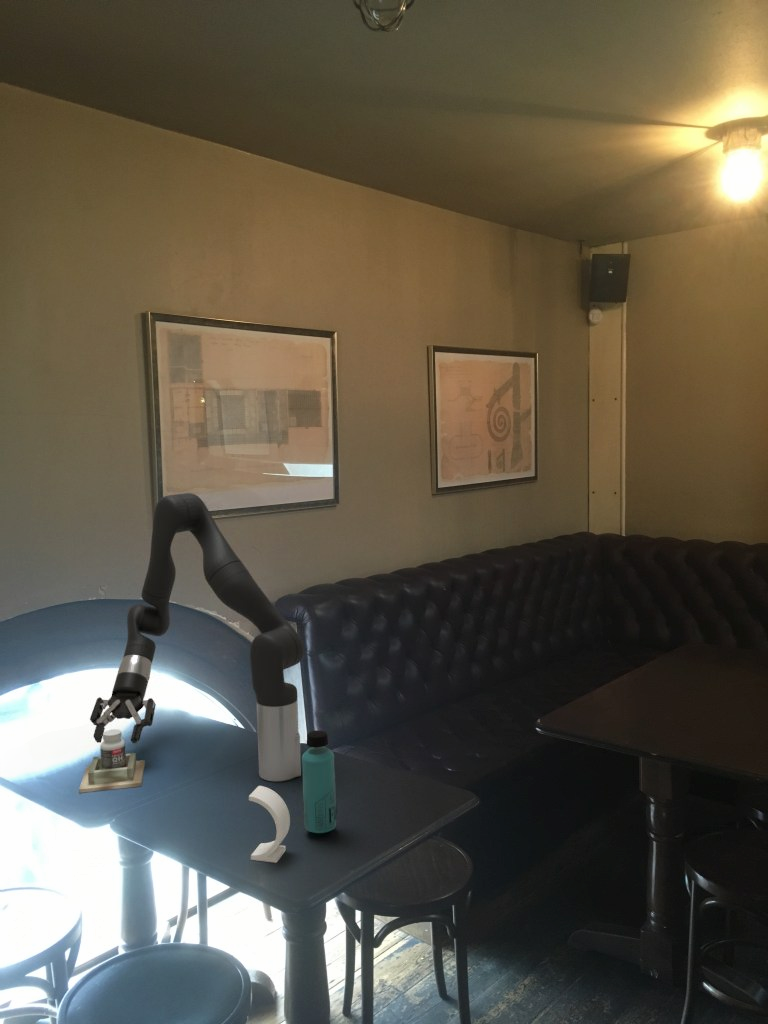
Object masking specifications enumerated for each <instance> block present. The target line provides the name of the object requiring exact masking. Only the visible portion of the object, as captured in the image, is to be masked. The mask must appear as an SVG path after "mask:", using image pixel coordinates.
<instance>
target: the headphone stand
mask: <svg viewBox="0 0 768 1024" xmlns="http://www.w3.org/2000/svg"><path fill="white" fill-rule="evenodd" d="M248 801H250V802H254V803H256V804H259V805H260V806H262V807H263V808H265V809H266V810H267V811H268V812H269V814H270V816H271V817H272V819H273V821H274V823H275V827H276V828H275V829H276V836H275V840H273V841H269V842H264V843H263V842H262V843H260V844H259V845H258V846H257V847H256V849H254V851H253V852H252V853H251V855H250V860H251V861H259V862H267V863H275V864H276V863H277V862H279V860H280V859H281V858H282V856H283V855H284V853H286V849H287V848H286V845H281V844H282V842H283V841H284V839H285V838H286V836H287V835H288V832H289V831H290V827H291V816H290V810H289V808H288V806H287V804H286V802H285V801H284V799H283V798H282V796H280V795H279V794H278V793H277V792H276V791H274V790H272V789H271V788H269V787H266V786H263V785H258V786H257V787H255V789H254V790H253V791H252V792H251V793H250V794H249V795H248Z"/></svg>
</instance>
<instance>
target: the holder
mask: <svg viewBox="0 0 768 1024" xmlns="http://www.w3.org/2000/svg"><path fill="white" fill-rule="evenodd" d="M136 756H137V753H136V752H130V753H126V767H124V768H114V769H104V770H102V768H101V755H99V756H93V758H92V760H91V764H90V765H87V766H86V768H85V771H84V773H83V777H82V779H81V782H80V786H79V788H78V793H79V794H81V793H91V792H100V791H108V790H109V791H110V790H119V789H126V788H127V789H128V788H135V787H142V783H143V777H144V771H145V764H146V762H145V759H144V760H143V759H142V760H137V757H136Z"/></svg>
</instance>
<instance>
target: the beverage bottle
mask: <svg viewBox="0 0 768 1024" xmlns="http://www.w3.org/2000/svg"><path fill="white" fill-rule="evenodd" d="M328 744H329V738H328V732H327V731H325V730H312V731H309V732H308V733H307V734H306V745H307V746H308V747H309V748H308V749H307V750H306V751H305V752H304V753H303V754H302V756H301V763H302V764H301V770H302V799H303V800H302V801H303V802H302V804H303V807H302V810H303V816H302V817H303V825H304V828H305V829H306V831H308V832H310V833H315V834H325V833H328V832H331V831H333V830H334V829H335V828H336V826H337V822H338V819H337V816H338V815H337V814H338V813H337V812H338V811H337V804H338V803H337V796H336V794H337V792H336V781H337V779H336V772H335V754H334V752H333V751H332V750H331V749H330V748H328V747H326V746H327V745H328Z"/></svg>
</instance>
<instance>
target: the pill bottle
mask: <svg viewBox="0 0 768 1024" xmlns="http://www.w3.org/2000/svg"><path fill="white" fill-rule="evenodd" d="M125 742H126V741H125V740H124V738H122V730H121V729H115V728H114V729H108V730H104V733H103V737H102V741H101V744H100V747H99V748H100V756H101V768H102V770H104V769H114V768H124V767H126V754H127V753H126V743H125Z"/></svg>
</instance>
